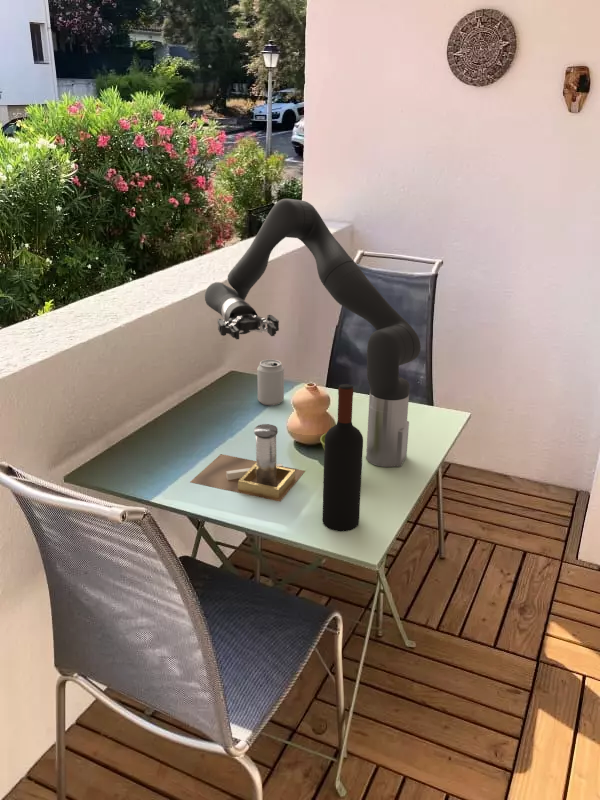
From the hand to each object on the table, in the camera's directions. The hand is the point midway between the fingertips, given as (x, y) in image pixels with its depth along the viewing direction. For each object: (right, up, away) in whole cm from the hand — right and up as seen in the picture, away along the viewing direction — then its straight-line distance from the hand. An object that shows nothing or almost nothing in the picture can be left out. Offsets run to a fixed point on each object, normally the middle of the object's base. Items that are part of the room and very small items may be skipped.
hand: (255, 333), depth 168 cm
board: (-1, -34, -3) cm, 34 cm away
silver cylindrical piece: (+3, -34, -7) cm, 35 cm away
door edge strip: (0, -33, -2) cm, 34 cm away
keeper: (+3, -35, -7) cm, 36 cm away
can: (+2, -16, +40) cm, 43 cm away
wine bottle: (+19, -41, -19) cm, 49 cm away
